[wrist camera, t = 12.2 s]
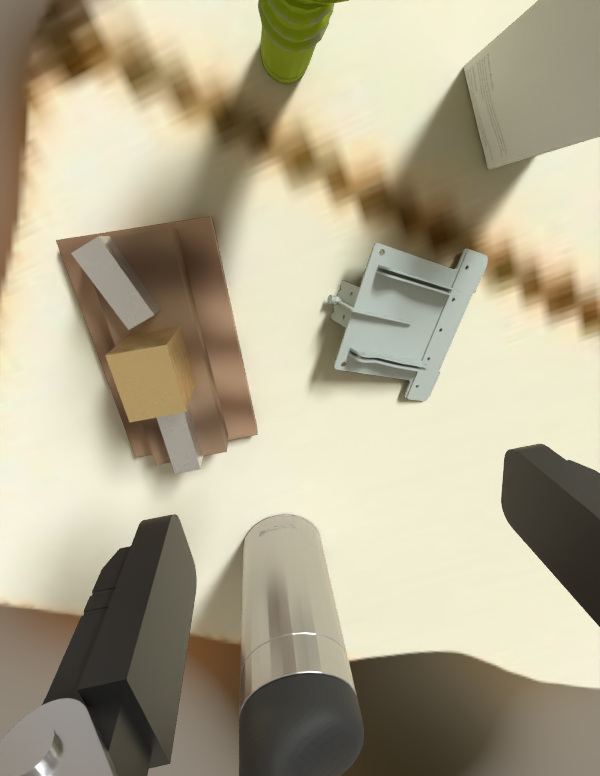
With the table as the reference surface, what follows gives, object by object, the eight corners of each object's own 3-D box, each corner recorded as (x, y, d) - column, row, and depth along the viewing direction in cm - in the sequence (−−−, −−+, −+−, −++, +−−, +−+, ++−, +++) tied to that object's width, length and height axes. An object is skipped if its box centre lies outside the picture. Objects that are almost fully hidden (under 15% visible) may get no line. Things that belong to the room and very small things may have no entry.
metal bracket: (327, 397, 33) (389, 213, 28) (301, 371, 38) (350, 210, 33) (445, 409, 40) (512, 262, 35) (410, 386, 45) (464, 254, 40)
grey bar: (203, 455, 35) (200, 468, 33) (157, 463, 35) (151, 478, 33) (139, 231, 28) (130, 231, 26) (80, 240, 27) (66, 241, 25)
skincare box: (547, 140, 33) (761, 75, 19) (481, 173, 33) (645, 133, 19) (528, 23, 30) (769, -156, 16) (456, 61, 30) (629, -82, 16)
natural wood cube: (129, 334, 30) (105, 355, 25) (180, 325, 30) (166, 344, 25) (148, 392, 32) (129, 422, 27) (196, 383, 32) (186, 412, 27)
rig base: (257, 427, 40) (258, 450, 36) (139, 449, 39) (126, 475, 35) (211, 216, 32) (206, 214, 28) (64, 239, 31) (35, 241, 27)
